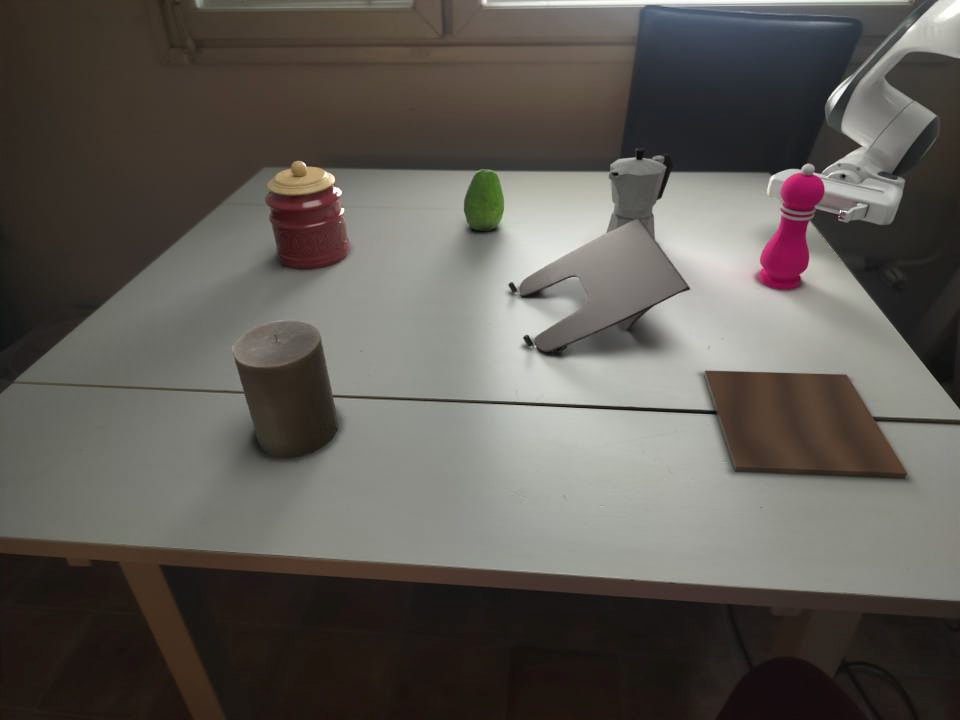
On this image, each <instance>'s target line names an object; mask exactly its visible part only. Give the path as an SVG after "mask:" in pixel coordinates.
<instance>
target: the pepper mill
mask: <svg viewBox="0 0 960 720" xmlns="http://www.w3.org/2000/svg"><path fill="white" fill-rule="evenodd" d="M815 169H816V168H815V166H814V164H811V163H806V164H804V165H803V166H802V167H801V169H800V170H801V172H802V173H797V174H794V175H791V176H790V177H788V178H787V179H786V180H785V182H784V183H783V185H782V188H781V193H780V194H781V198H782V199H783V201H784V202H783V203H781V206H780V208H779V209H778V213H779V215H780V220H779V225H778V228H777V229H776V231H775V233H774V234H773V236H772V237H771V238H770V239H769V240H768V241H767V243H766V244H765V246H764V247H763V249H762V252H761V253H760V256H759V263H760V265H761V267H762V268H761V269H760V270H759V274H758V280H759V282H760V283H761V284H762V285H765V286H766V287H769V288H771V289H775V290H781V291H782V290H784V291H785V290H786V291H787V290H793V289H796V288H797V287H799V286H800V284H801V279H802V277H801V274H803V273H804V272H805V271H806V270H807V269H808V267H809V263H810V251H809V247H808V243H807V242H808V241H807V229H808V225H809V223H810V220H812V219H813V218H814V217H815V212H816V211H817V209H816V207H815V205H817V204H818V203H819V202H820V201H821V200H822V198H823V196H824V191H825V188H824V184H823V181H822V180H821V179H820V178H819V177H818V176H816V175H814V174H813V173H815Z"/></svg>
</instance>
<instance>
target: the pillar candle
mask: <svg viewBox="0 0 960 720" xmlns="http://www.w3.org/2000/svg"><path fill="white" fill-rule="evenodd" d="M230 349H231V350H230V351H231V353H232V356H233V359H234V363H235V365H236V368H237V373H238V376H239V380H240V384H241V386H242V390H243V394H244V398H245V402H246V404H247V407H248V411H249V414H250V418H251V421H252V424H253V428H254V432H255V434H256V438H257V442H258V444H259V446H260V448H261V449H262V450H264V452H265V453H267V454H268V455H269V456H271V457H275V458H279V459H280V458H281V459H292V458H299V457H303V456H306V455H309V454H313V453H314V452H317V451H319V450H321V449H322V448H323V447H325V446H326V445H327V444H329V443H330V442H332V441H333V439H334V438H335V436H336V434H337V432H338V431H339V426H340V425H339V420H338V415H337V409H336V405H335V400H334V399H335V398H334V395H333V390H332V384H331V381H330V376H329V370H328V366H327V361H326V356H325V350H324V345H323V341H322V336H321V333H320V331H319V329H318V328H317V327H315V326H314V325H313V324H311V323H309V322H307V321H303V320H298V319H287V318H286V319H281V320H279V319H278V320H271V321H269V322H266V323H264V324H260V325H257V326H255V327H253V328H250V329H249V330H247V331H246V332H244V334H241V335H240V336H239V337H238V338H237V339H236V340H235V342H234V344H233V346H231V348H230Z"/></svg>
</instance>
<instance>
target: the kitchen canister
mask: <svg viewBox="0 0 960 720" xmlns="http://www.w3.org/2000/svg"><path fill="white" fill-rule="evenodd" d="M335 182H336V178H335V176H334V175H333V174H332V173H330V172H328V171H325V170H324V169H322V168H320V167H317V166H316V167H315V166H307V165H306V164H305V162H303V161H301V160H295V161H293V162H292V163H291V166H290V168H287V169H283V170H281V171H279V172H278V173H277V174H275V176H274V177H272V178H271V179H270V180H269V181H268V182H267V185H266V187H267V189H268V190H269V192H268V193H267V194H266V196H265V198H264V202H265V204H266V205H267V206H268V207H269V209H270V214H269V217H268V219H269V222H270V224H271V228H272V232H273V238H274V242H275V245H276V247H275V252H276V255H277V258H278V260H279V263H280V264H281V266H282V267H284V268H285V267H287V268H291V269H294V270H295V269H296V270H317V269H322V268H327V267H331V266H333V265H337V263H339V262H342V261H343V260H344V259H346V257H348V255H349V253H350V248H351V244H350V238H349V237H348V233H347V232H348V231H347V226H346V218H345V207H344V206H343V204H342V203H341V199H340V198H341V197H342V194H343V191H342V188H341V187H340V186H339V185H337V184H335Z"/></svg>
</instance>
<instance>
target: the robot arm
mask: <svg viewBox="0 0 960 720" xmlns="http://www.w3.org/2000/svg"><path fill="white" fill-rule="evenodd" d="M914 52H915V53H916V52H917V53H918V52H920V53H931V54H937V55H942V56H947V57H950V58H955V59H960V0H925V1H923V2H922V3H920V4H919V5H918V6H917V7H916V8H915V9H914V10H912V11H911V12H910V13H909V14H908V15H907V16H906V17H905V18H904V19H903V20H902V21H901V22H900V23H899V24H898V25H897V26H896V27H895V28H894V30H892V32H891V33H889V35H888V36H887V37H886V38H884V40H883V41H882V42H881V43H880V44H879V45H878V46H877V48H875V50H874V51H873V52H872V53H871V54H870V55H869V56H868V57H867V59H865V61H864V62H863V63H861V65H860V66H859V67H858V68H857V69H856V70H855V71H854V72H853V73H852V74H851V75H850V76H849V77H847V78H846V79H845V80H844V81H842V82H841V83H840V84H839V85H837V87H836V88H835V89H834V90H833V91H832V93H831V94H830V96H829V97H828V99H827V101H826V103H825V104H824V113H825V114H824V115H825V121H826V125H827V126H828V127H830V128H831V129H833V130H835V131H837V132H839V133H841V134H843V135H845V136H847V137H848V138H850V139H851V140H853V142H856V143H857V144H858V145H860V147H857V148H856V149H855V150H853V151H851V152H849V153H847V154H846V155H845V156H843V157H842V158H840V159H838V160H837V161H835V162H834V163H832V164H831V165H829V166H827V167H826V168H825V169H824V170H823V171H822V172H821V173H817V172H814V173H813V174H814V175H816V176H818V177H819V178H820V179H821V180H822V181H823V184H824V188H825V191H824V196H823V198H822V200H821V201H820V202H819V203H818V204H817V205H815V207H816V210H819V211H823V212H828V213H832V214H834V215H835V214H837V215H839V216H838V217H837V221H840V222H842V223H850V222H851V221H859V220H860V221H863V222H867V223H870V224H875V225H879V226H888V225H890V224H892V223H893V221H894V219H895V217H896V214H897V211H898V210H899V206H900V203H901V200H902V198H903V193H904V188H905V183H906V179H905V178H903V177H904V176H906V175H907V174H908V173H909V172H910V171H912V170H913V169H914V168H915V167H916V166H918V164H920V162H922V161H923V160H924V158H925V157H927V155H928V154H929V153H930V151H931V150H932V149H933V148H934V146H935V145H936V143H937V142H938V140H939V137H940V130H941V121H940V116H939V115H937V114H935V113H934V112H933V111H931V110H930V109H929V108H927V107H925V106H923V105H922V104H921V103H919V102H918V101H916V100H913V99H912V98H911V97H909V96H907V95H906V94H904V93H903V92H902V91H900V90H899V89H897V88H896V87H893V86H892V85H891V84H890V83H889V82H888V81H887V80H886V78H885V77H886V75H887V74H888V73H890V71H891V70H892V69H893V68H894V67H896V65H897V64H898V63H899V62H900V61H901V60H902V59H903V58H904V57H905V56H906V55H907V54H909V53H914ZM797 173H802V172H801V169H799V168H789V169H784V170H782V171H778V172H777V173H775V174H772V175H771V176H770V177H769V180H768V185H767V190H766V194H767V196H768V197H769V198H770V199H771V198H772V199H776V200H780V201H779V206H780V207H781V203H783V202H784V201H783V199H782V198H781V194H780V193H781V188H782V185H783V183H784V182H785V180H786V179H787V178H788V177H790V176H791V175H794V174H797Z"/></svg>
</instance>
